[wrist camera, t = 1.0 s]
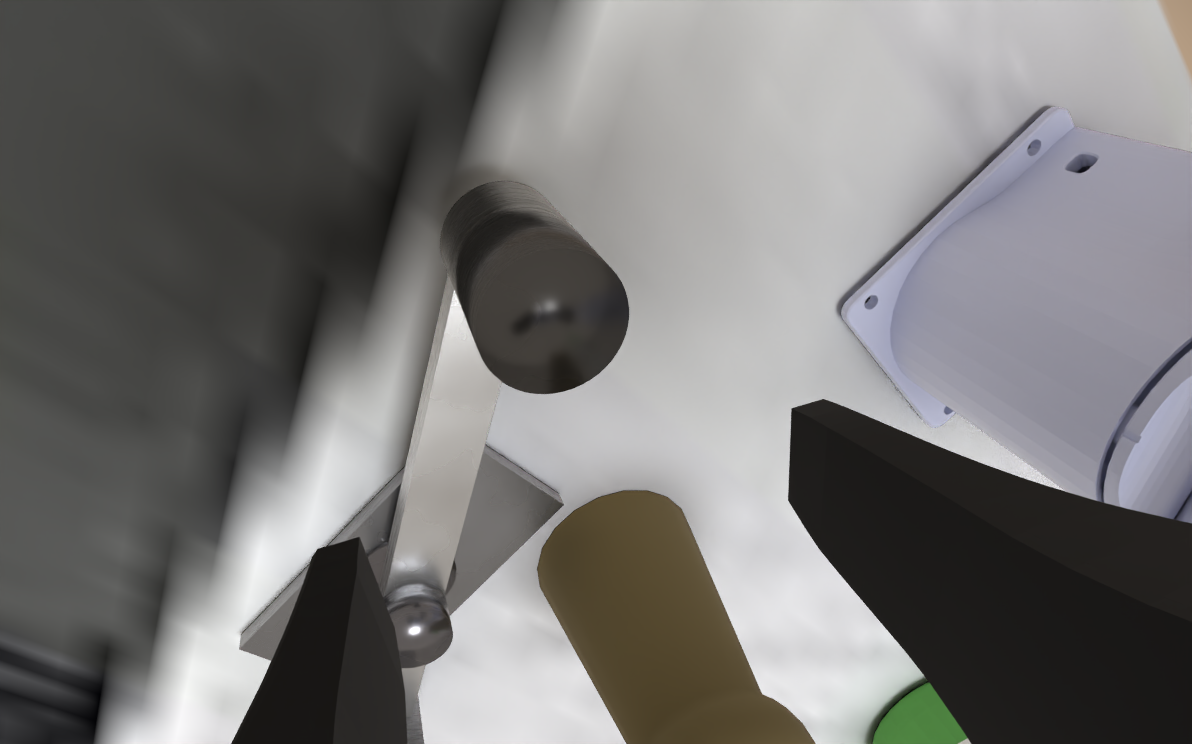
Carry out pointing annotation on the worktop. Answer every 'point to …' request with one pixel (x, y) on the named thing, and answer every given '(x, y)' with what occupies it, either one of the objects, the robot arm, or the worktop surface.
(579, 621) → the cork
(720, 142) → the worktop surface
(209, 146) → the worktop surface
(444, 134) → the worktop surface
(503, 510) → the base plate
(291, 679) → the robot arm
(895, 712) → the wine bottle
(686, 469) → the worktop surface
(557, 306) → the lever
